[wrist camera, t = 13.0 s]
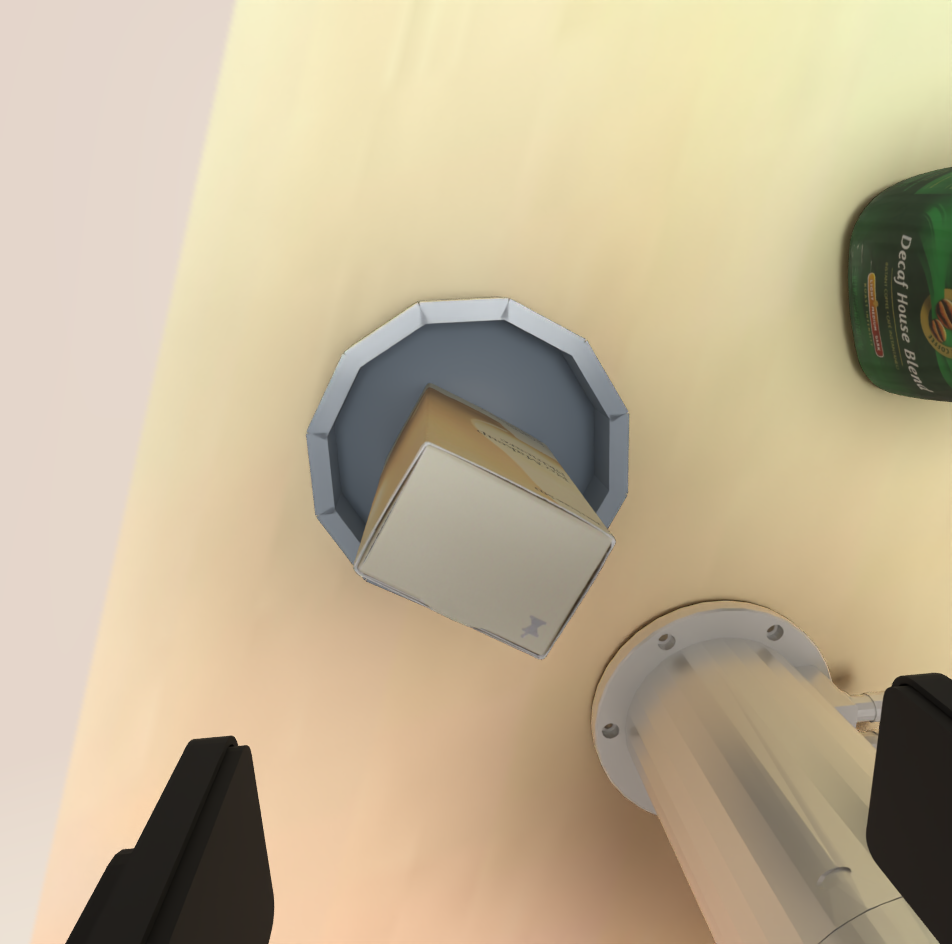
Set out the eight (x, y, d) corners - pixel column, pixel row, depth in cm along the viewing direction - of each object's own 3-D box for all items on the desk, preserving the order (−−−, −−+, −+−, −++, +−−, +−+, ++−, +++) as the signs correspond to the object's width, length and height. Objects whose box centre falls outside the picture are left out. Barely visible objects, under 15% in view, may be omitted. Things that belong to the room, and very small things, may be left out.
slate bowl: (606, 291, 30) (630, 292, 26) (605, 566, 33) (626, 597, 30) (306, 306, 29) (291, 308, 25) (337, 586, 32) (327, 621, 29)
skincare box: (549, 443, 30) (633, 542, 18) (501, 525, 31) (553, 670, 19) (421, 375, 29) (424, 435, 17) (375, 462, 30) (348, 576, 18)
